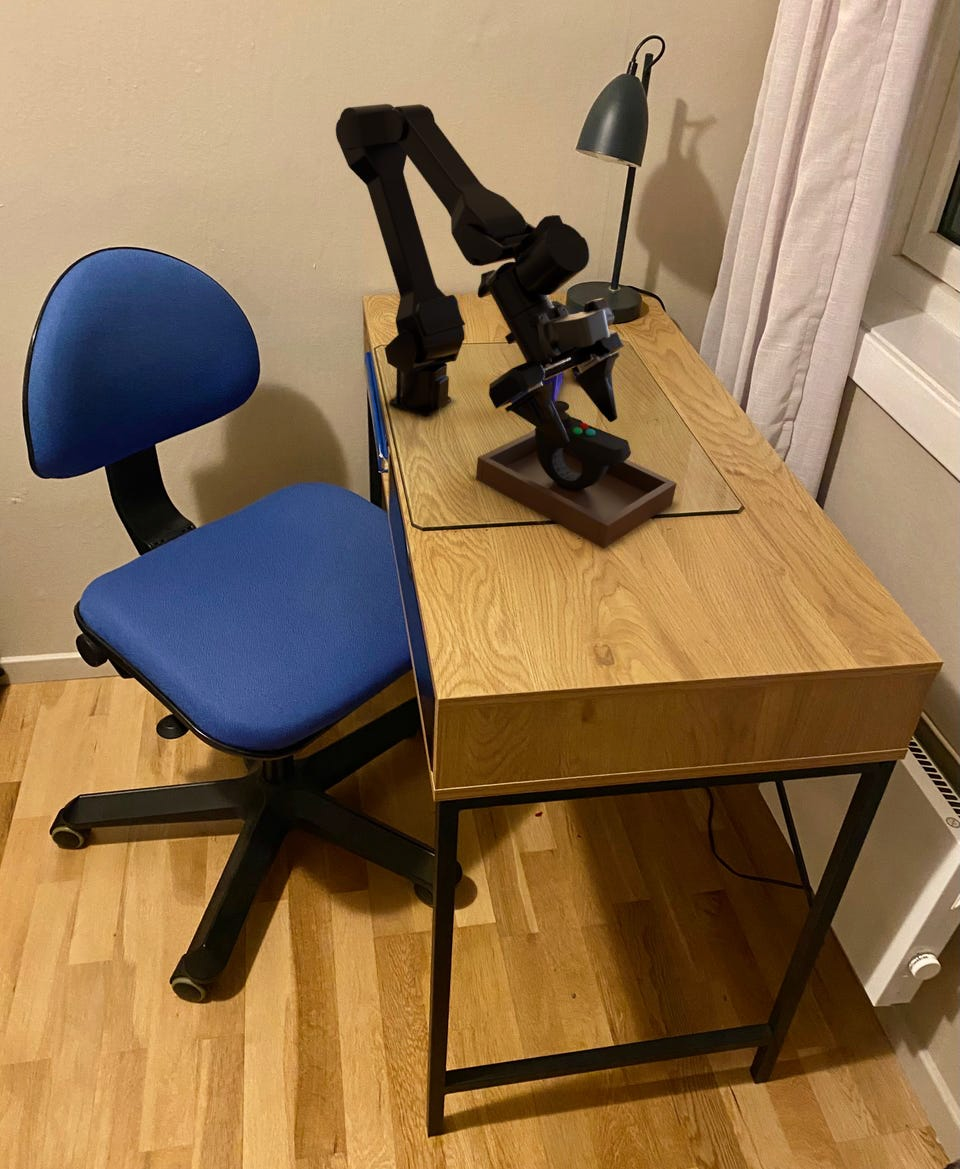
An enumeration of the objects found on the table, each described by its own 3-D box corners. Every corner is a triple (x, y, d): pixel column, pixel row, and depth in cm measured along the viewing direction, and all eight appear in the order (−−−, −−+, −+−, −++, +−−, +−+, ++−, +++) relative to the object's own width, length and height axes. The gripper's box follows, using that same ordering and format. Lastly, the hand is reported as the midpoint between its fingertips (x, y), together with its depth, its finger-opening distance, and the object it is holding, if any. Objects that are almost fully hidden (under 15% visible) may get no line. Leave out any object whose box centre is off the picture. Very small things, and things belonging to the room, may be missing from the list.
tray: (475, 479, 119) (477, 457, 117) (547, 443, 127) (549, 422, 125) (603, 548, 109) (607, 526, 107) (672, 504, 117) (677, 482, 115)
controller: (542, 462, 122) (550, 391, 116) (626, 497, 117) (640, 424, 110) (523, 475, 119) (531, 402, 113) (609, 511, 114) (622, 437, 108)
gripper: (517, 298, 99) (586, 432, 100) (623, 261, 110) (684, 382, 111) (458, 345, 108) (523, 468, 109) (562, 306, 119) (619, 418, 120)
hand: (590, 432), depth 112 cm, fingers open, 9 cm apart
